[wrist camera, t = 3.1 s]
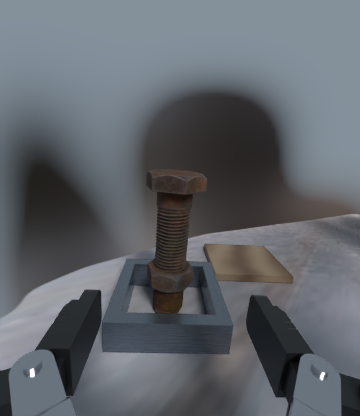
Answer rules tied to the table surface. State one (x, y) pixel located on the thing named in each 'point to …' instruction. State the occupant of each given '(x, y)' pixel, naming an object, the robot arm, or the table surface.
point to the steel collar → (167, 318)
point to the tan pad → (245, 264)
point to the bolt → (172, 236)
